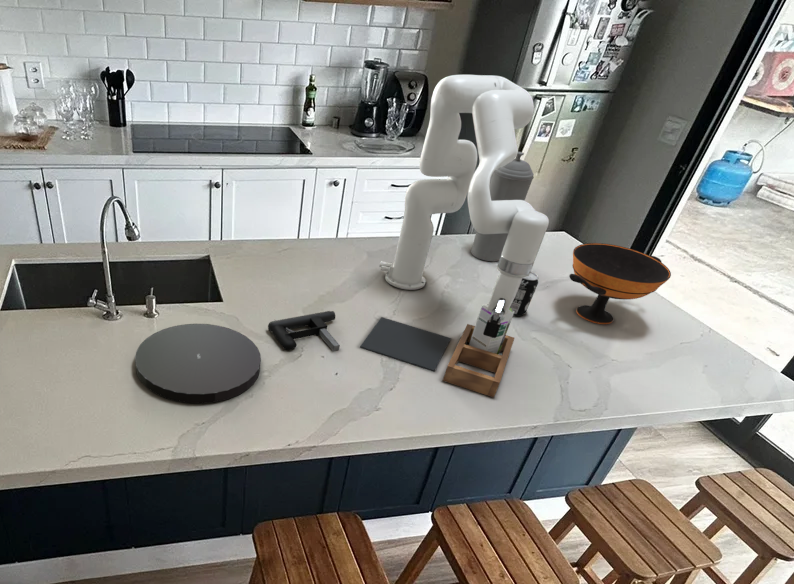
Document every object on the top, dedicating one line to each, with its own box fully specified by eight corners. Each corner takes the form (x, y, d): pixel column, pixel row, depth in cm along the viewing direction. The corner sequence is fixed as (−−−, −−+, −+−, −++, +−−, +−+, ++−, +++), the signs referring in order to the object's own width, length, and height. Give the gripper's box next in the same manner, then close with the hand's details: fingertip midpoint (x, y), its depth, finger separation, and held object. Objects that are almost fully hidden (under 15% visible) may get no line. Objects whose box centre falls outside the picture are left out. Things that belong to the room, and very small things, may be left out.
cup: (591, 349, 157) (620, 292, 146) (520, 306, 174) (542, 252, 163) (669, 324, 172) (701, 271, 161) (596, 287, 189) (621, 236, 178)
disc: (123, 343, 145) (122, 333, 143) (233, 325, 155) (234, 315, 153) (154, 416, 124) (153, 405, 122) (279, 389, 134) (281, 379, 132)
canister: (510, 256, 203) (547, 154, 182) (494, 266, 196) (531, 160, 174) (477, 245, 210) (510, 144, 188) (461, 254, 202) (492, 150, 181)
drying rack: (442, 380, 141) (447, 365, 138) (462, 337, 158) (467, 323, 155) (493, 397, 137) (499, 382, 134) (509, 351, 154) (514, 337, 151)
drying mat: (359, 347, 151) (360, 346, 150) (381, 318, 163) (381, 316, 163) (434, 371, 144) (434, 370, 144) (450, 339, 157) (451, 338, 157)
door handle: (359, 338, 149) (329, 306, 160) (291, 352, 142) (265, 317, 153) (357, 348, 152) (327, 316, 162) (290, 363, 144) (263, 327, 155)
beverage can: (522, 307, 174) (536, 271, 167) (527, 318, 169) (542, 281, 162) (500, 304, 174) (513, 268, 167) (505, 315, 169) (519, 279, 162)
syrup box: (481, 363, 148) (499, 315, 139) (465, 351, 152) (482, 303, 143) (497, 359, 151) (516, 310, 142) (481, 347, 155) (498, 299, 145)
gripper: (504, 249, 143) (484, 309, 153) (492, 274, 130) (471, 338, 141) (536, 256, 140) (512, 317, 151) (526, 282, 128) (502, 347, 138)
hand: (492, 327), depth 146 cm, fingers open, 9 cm apart
